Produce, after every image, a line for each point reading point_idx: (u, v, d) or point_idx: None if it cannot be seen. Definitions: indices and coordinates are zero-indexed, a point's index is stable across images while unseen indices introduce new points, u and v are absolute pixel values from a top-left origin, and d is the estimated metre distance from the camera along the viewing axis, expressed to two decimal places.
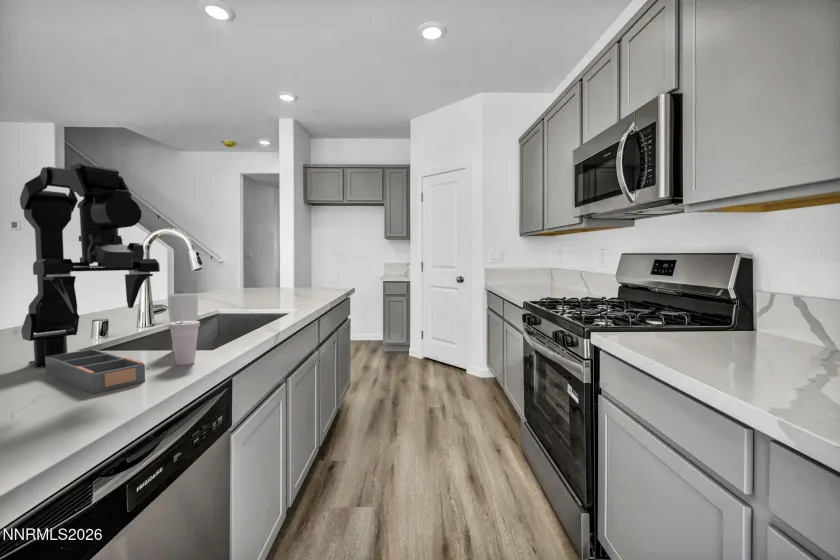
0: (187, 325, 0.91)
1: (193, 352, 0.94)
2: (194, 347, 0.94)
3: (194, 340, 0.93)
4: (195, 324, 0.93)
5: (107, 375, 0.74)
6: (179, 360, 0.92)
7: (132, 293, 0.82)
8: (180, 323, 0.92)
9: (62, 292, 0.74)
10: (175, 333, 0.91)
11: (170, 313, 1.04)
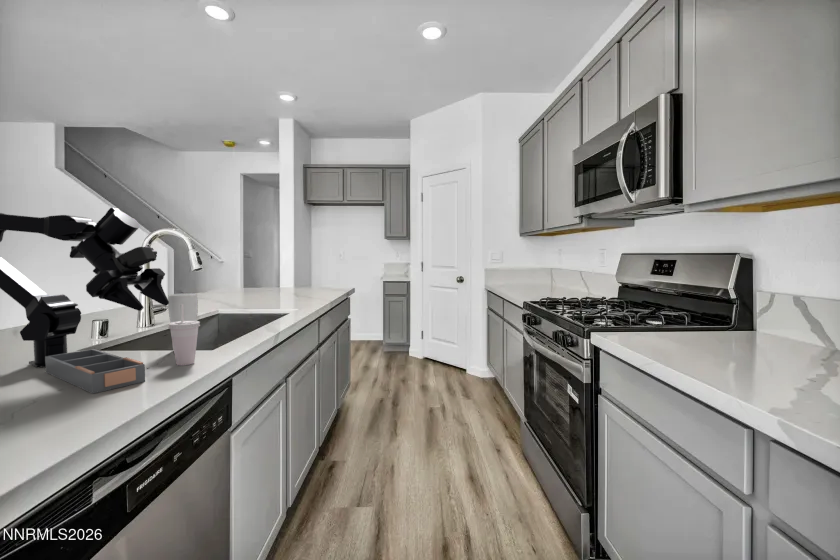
0: (187, 325, 0.91)
1: (193, 352, 0.94)
2: (194, 347, 0.94)
3: (194, 340, 0.93)
4: (195, 324, 0.93)
5: (107, 375, 0.74)
6: (179, 360, 0.92)
7: (161, 293, 0.98)
8: (180, 323, 0.92)
9: (121, 300, 0.87)
10: (175, 333, 0.91)
11: (170, 313, 1.04)
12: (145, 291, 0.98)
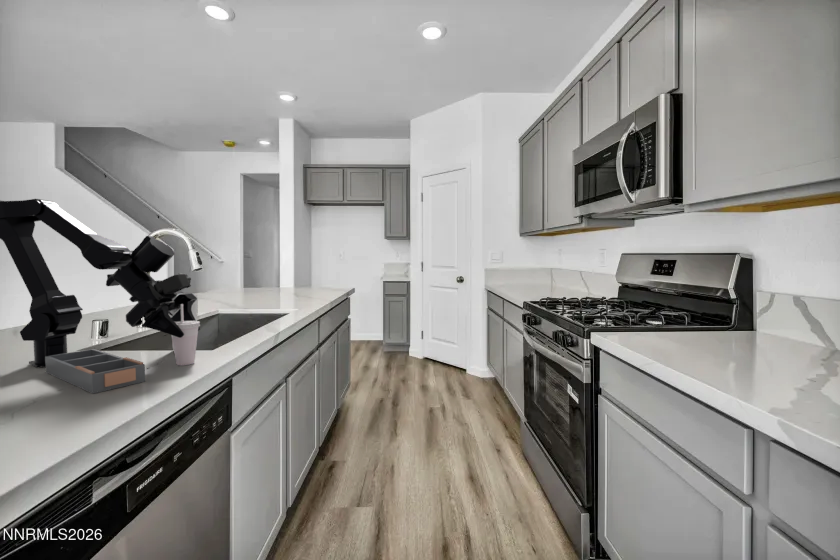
0: (187, 325, 0.91)
1: (193, 352, 0.94)
2: (194, 347, 0.94)
3: (194, 340, 0.93)
4: (195, 324, 0.93)
5: (107, 375, 0.74)
6: (179, 360, 0.92)
7: (192, 319, 0.97)
8: (180, 323, 0.92)
9: (163, 328, 0.89)
10: None
11: None
12: (175, 317, 0.97)
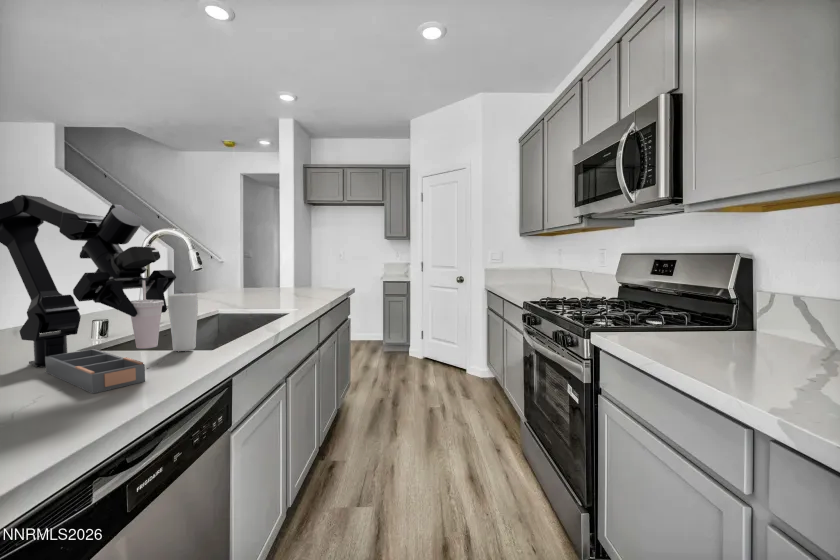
0: (142, 304, 0.81)
1: (152, 335, 0.83)
2: (154, 329, 0.83)
3: (153, 321, 0.83)
4: (153, 303, 0.82)
5: (107, 375, 0.74)
6: (137, 342, 0.83)
7: (160, 298, 0.87)
8: (139, 301, 0.83)
9: (116, 304, 0.80)
10: None
11: (170, 313, 1.04)
12: (147, 295, 0.89)
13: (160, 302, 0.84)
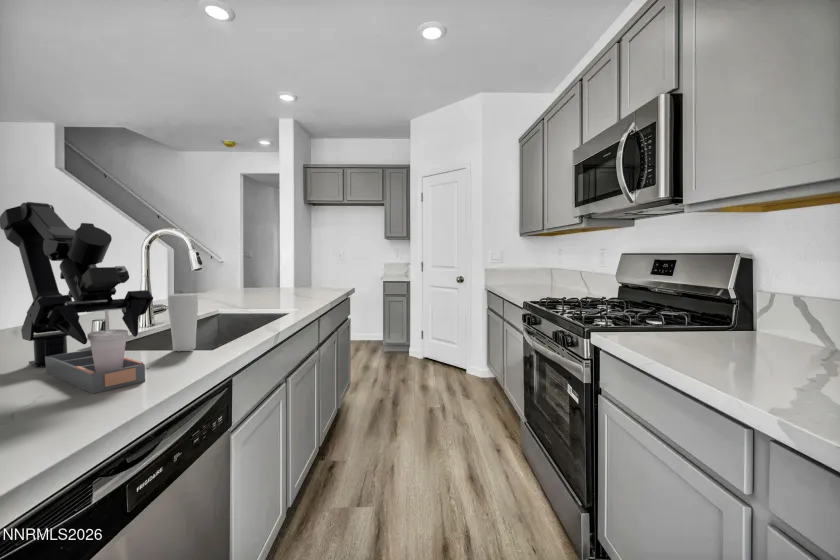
0: (98, 336, 0.75)
1: (111, 369, 0.77)
2: (113, 363, 0.77)
3: (111, 355, 0.77)
4: (110, 336, 0.76)
5: (107, 375, 0.74)
6: None
7: (133, 321, 0.82)
8: (99, 333, 0.77)
9: (68, 331, 0.75)
10: (90, 344, 0.76)
11: (170, 313, 1.04)
12: (124, 317, 0.84)
13: (120, 334, 0.78)
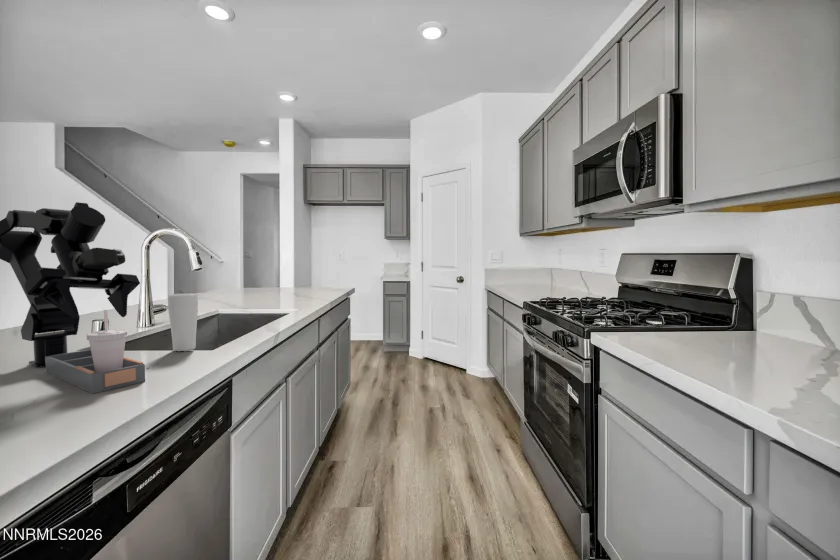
0: (97, 336, 0.75)
1: (111, 369, 0.77)
2: (113, 363, 0.77)
3: (111, 355, 0.77)
4: (109, 336, 0.76)
5: (107, 375, 0.74)
6: None
7: (122, 302, 0.87)
8: (98, 333, 0.77)
9: (59, 303, 0.78)
10: (89, 343, 0.76)
11: (170, 313, 1.04)
12: (111, 298, 0.89)
13: (119, 334, 0.78)
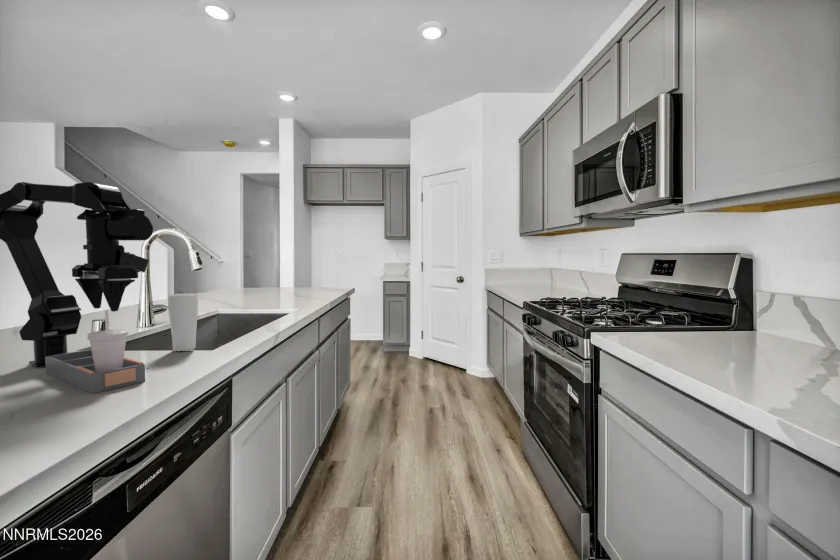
0: (98, 336, 0.75)
1: (111, 369, 0.77)
2: (113, 363, 0.77)
3: (111, 355, 0.77)
4: (110, 336, 0.76)
5: (107, 375, 0.74)
6: None
7: (101, 295, 0.93)
8: (99, 333, 0.77)
9: (111, 294, 0.86)
10: (90, 344, 0.76)
11: (170, 313, 1.04)
12: (86, 282, 0.91)
13: (120, 334, 0.78)
